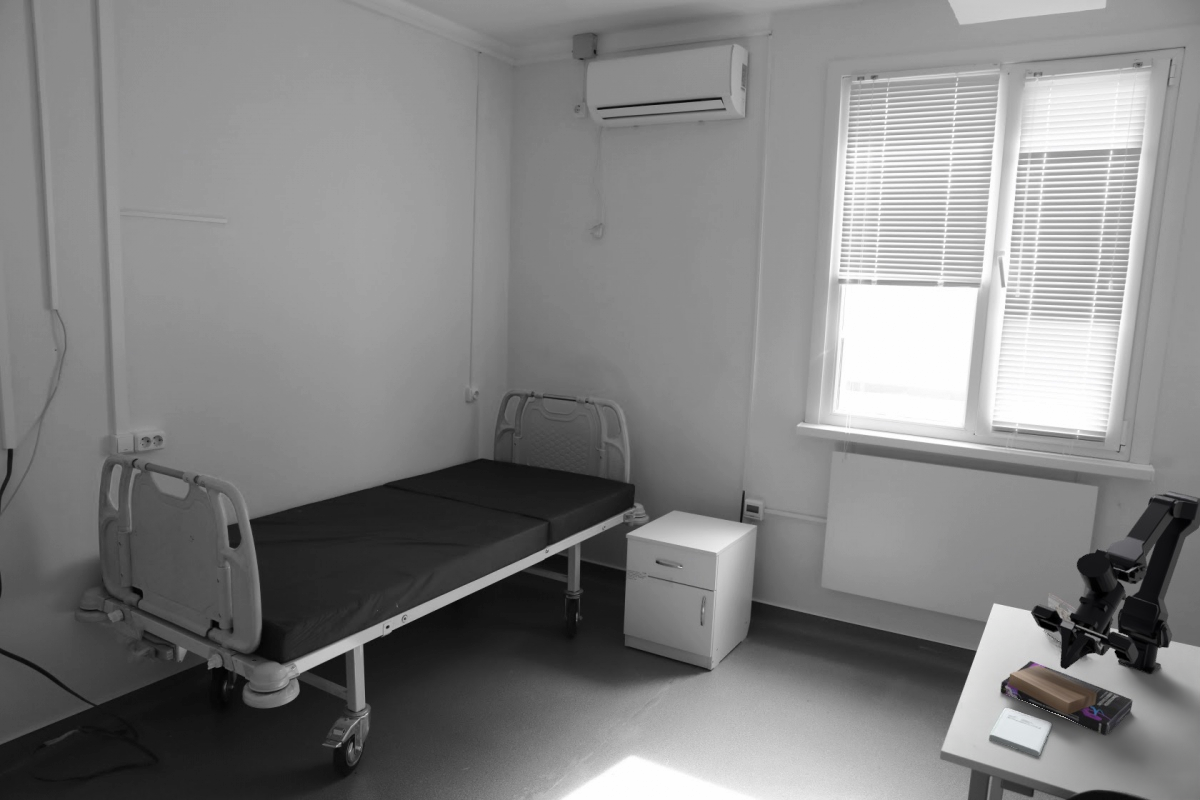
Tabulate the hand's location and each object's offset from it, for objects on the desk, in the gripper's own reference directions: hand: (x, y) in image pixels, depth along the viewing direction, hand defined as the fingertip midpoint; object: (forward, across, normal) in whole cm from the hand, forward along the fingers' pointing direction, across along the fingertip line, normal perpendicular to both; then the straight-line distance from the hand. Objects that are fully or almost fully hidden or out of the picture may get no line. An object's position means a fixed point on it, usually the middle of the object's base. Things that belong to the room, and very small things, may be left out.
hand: (1062, 667), depth 161 cm
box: (+5, 0, -7) cm, 9 cm away
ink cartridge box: (-16, +14, -27) cm, 34 cm away
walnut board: (+2, 0, -4) cm, 4 cm away
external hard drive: (+18, -2, +6) cm, 19 cm away
